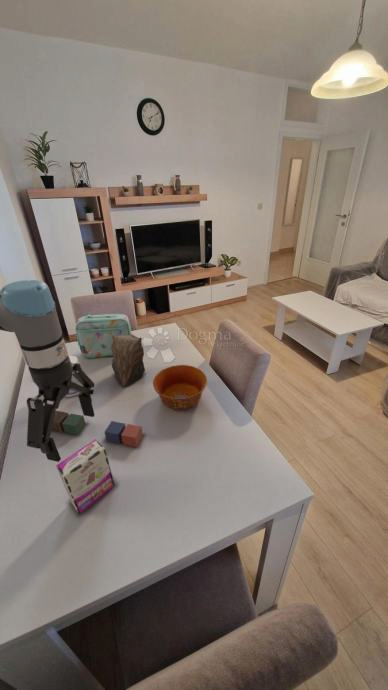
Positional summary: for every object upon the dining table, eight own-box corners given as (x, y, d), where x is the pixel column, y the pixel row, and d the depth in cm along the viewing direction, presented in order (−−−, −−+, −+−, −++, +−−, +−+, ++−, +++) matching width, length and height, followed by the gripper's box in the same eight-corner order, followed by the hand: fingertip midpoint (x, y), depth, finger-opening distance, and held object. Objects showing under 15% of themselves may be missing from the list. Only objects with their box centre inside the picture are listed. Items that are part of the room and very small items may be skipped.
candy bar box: (106, 475, 82) (96, 437, 74) (115, 486, 79) (106, 447, 71) (70, 503, 75) (54, 464, 67) (79, 516, 72) (64, 477, 64)
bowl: (157, 422, 101) (155, 401, 96) (152, 386, 119) (150, 367, 114) (212, 414, 105) (213, 393, 100) (199, 380, 123) (200, 361, 118)
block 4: (123, 445, 92) (121, 435, 90) (129, 434, 96) (127, 423, 94) (137, 448, 91) (135, 437, 88) (142, 436, 95) (141, 426, 93)
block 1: (50, 430, 98) (46, 420, 95) (59, 420, 102) (56, 410, 99) (62, 433, 97) (59, 423, 94) (71, 422, 101) (68, 412, 98)
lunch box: (78, 361, 136) (68, 322, 126) (81, 350, 145) (72, 313, 134) (133, 355, 141) (128, 317, 130) (133, 345, 150) (128, 308, 139)
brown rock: (112, 374, 127) (105, 336, 117) (137, 365, 133) (133, 328, 123) (123, 388, 118) (116, 348, 108) (149, 378, 124) (145, 339, 114)
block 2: (65, 433, 96) (61, 423, 94) (73, 423, 101) (70, 413, 98) (77, 436, 95) (74, 426, 93) (86, 425, 100) (83, 415, 97)
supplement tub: (58, 399, 112) (48, 369, 105) (63, 384, 120) (55, 356, 113) (83, 396, 114) (75, 366, 106) (86, 382, 122) (79, 354, 114)
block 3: (106, 442, 93) (104, 431, 91) (113, 431, 97) (111, 420, 95) (120, 445, 92) (118, 434, 90) (126, 433, 96) (125, 423, 94)
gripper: (15, 405, 43) (51, 487, 54) (98, 333, 64) (113, 402, 75) (-23, 398, 45) (19, 479, 56) (70, 330, 66) (88, 398, 77)
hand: (73, 435), depth 65 cm, fingers open, 13 cm apart
